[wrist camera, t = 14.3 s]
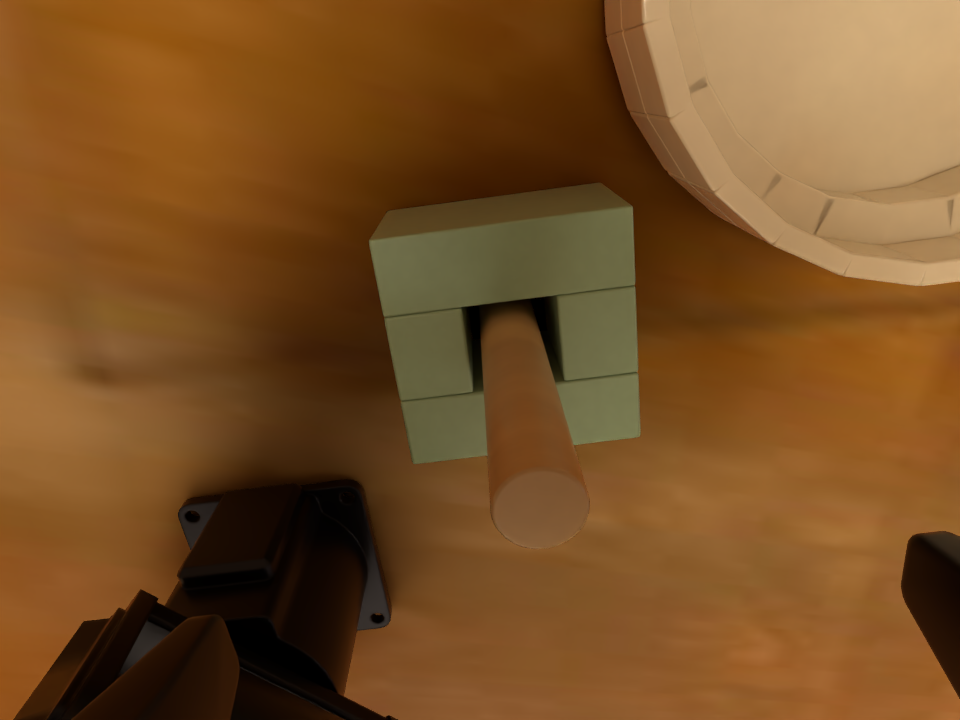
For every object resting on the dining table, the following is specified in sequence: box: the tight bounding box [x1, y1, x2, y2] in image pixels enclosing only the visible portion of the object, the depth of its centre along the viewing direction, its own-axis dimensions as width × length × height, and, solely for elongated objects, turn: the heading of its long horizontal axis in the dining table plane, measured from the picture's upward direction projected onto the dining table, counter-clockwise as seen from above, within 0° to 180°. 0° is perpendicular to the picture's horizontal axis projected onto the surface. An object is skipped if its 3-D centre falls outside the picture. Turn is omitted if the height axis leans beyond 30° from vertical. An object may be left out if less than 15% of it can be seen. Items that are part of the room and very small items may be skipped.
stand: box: [369, 183, 641, 464], centre depth 19 cm, size 6×6×4 cm
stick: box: [479, 299, 590, 549], centre depth 15 cm, size 2×2×11 cm
